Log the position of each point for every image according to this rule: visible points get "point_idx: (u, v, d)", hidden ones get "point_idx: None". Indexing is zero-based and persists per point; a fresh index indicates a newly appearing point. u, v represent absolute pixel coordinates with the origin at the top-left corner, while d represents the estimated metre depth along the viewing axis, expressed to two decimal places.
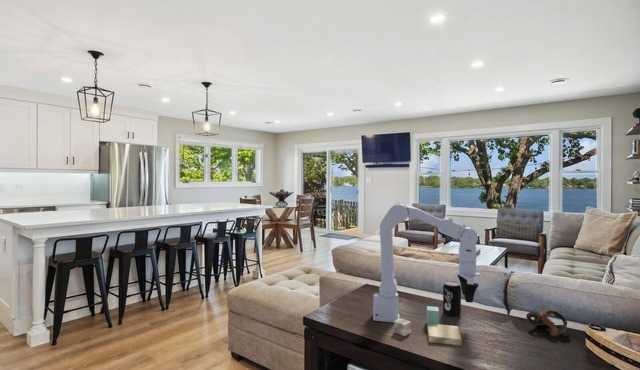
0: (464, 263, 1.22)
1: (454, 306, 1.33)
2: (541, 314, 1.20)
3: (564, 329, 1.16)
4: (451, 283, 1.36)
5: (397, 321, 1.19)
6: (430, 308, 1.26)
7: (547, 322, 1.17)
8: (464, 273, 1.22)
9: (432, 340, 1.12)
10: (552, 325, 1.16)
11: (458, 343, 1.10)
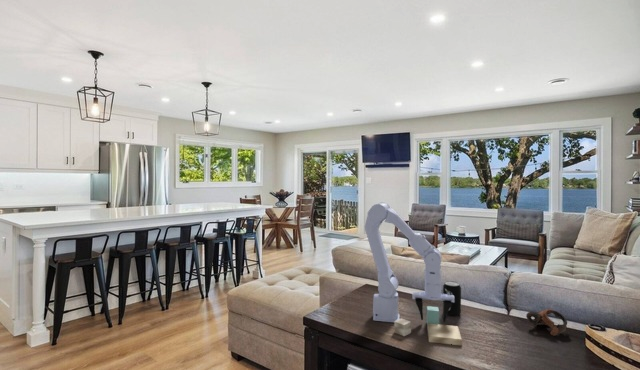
0: None
1: (454, 306, 1.33)
2: (541, 314, 1.21)
3: (564, 328, 1.16)
4: (451, 283, 1.36)
5: (397, 321, 1.19)
6: (430, 308, 1.26)
7: (547, 322, 1.17)
8: None
9: (432, 340, 1.12)
10: (552, 325, 1.16)
11: (458, 343, 1.10)
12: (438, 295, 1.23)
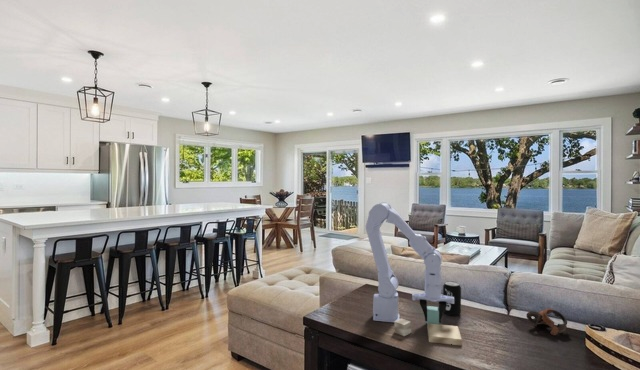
0: None
1: (454, 306, 1.33)
2: (541, 313, 1.21)
3: (564, 328, 1.17)
4: (451, 283, 1.36)
5: (397, 321, 1.19)
6: (430, 308, 1.26)
7: (547, 321, 1.18)
8: None
9: (432, 340, 1.12)
10: (552, 324, 1.17)
11: (458, 343, 1.10)
12: (438, 296, 1.23)
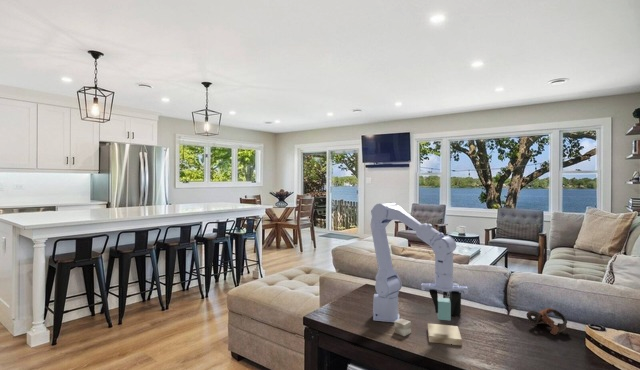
0: None
1: None
2: (541, 313, 1.22)
3: (564, 327, 1.17)
4: None
5: (397, 321, 1.19)
6: (441, 299, 1.16)
7: (547, 321, 1.18)
8: None
9: (432, 340, 1.12)
10: (552, 323, 1.17)
11: (458, 343, 1.10)
12: (450, 286, 1.13)
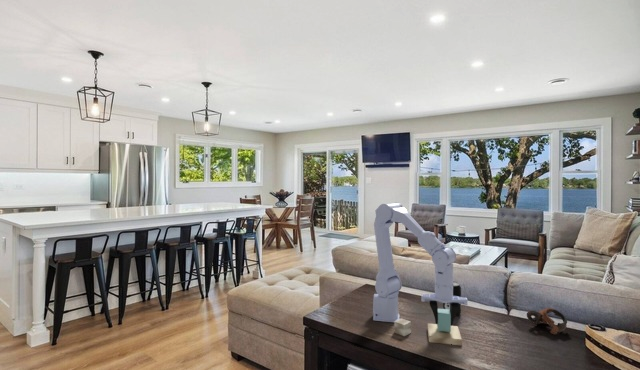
0: None
1: None
2: (541, 312, 1.22)
3: (564, 327, 1.17)
4: None
5: (397, 321, 1.19)
6: (441, 310, 1.16)
7: (547, 320, 1.18)
8: None
9: (432, 340, 1.12)
10: (552, 323, 1.17)
11: (458, 343, 1.10)
12: (450, 297, 1.13)
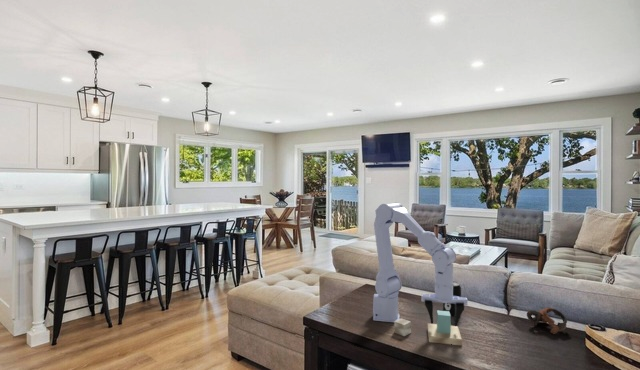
0: None
1: (454, 306, 1.33)
2: (541, 312, 1.22)
3: (564, 327, 1.18)
4: None
5: (397, 321, 1.19)
6: (441, 312, 1.16)
7: (547, 320, 1.19)
8: None
9: (432, 340, 1.12)
10: (552, 323, 1.18)
11: (458, 343, 1.10)
12: (450, 297, 1.13)
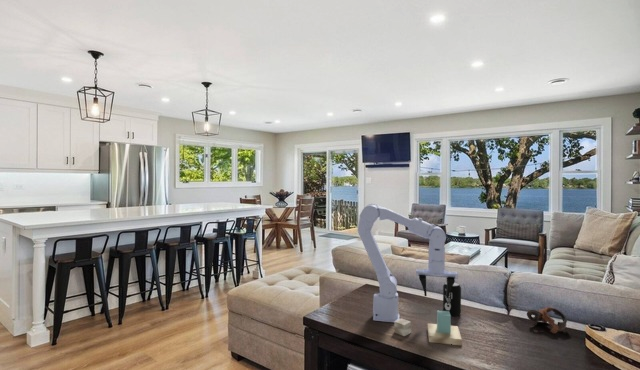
0: None
1: (454, 306, 1.33)
2: (541, 312, 1.23)
3: (564, 326, 1.18)
4: None
5: (397, 321, 1.19)
6: (441, 312, 1.16)
7: (547, 319, 1.19)
8: None
9: (432, 340, 1.12)
10: (552, 322, 1.18)
11: (458, 343, 1.10)
12: (441, 271, 1.24)
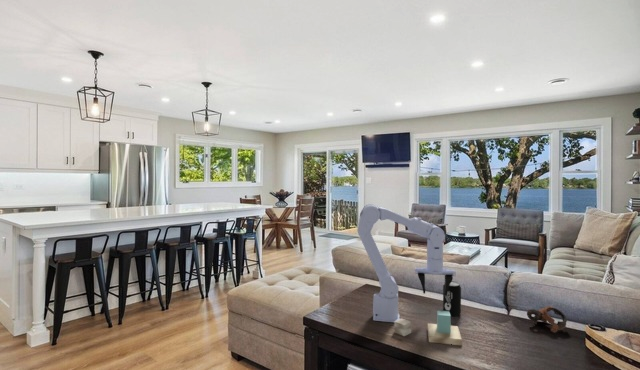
0: None
1: (454, 306, 1.33)
2: (541, 311, 1.23)
3: (564, 325, 1.19)
4: (451, 283, 1.36)
5: (397, 321, 1.19)
6: (441, 312, 1.16)
7: (548, 319, 1.20)
8: None
9: (432, 340, 1.12)
10: (552, 322, 1.19)
11: (458, 343, 1.10)
12: (440, 269, 1.27)
